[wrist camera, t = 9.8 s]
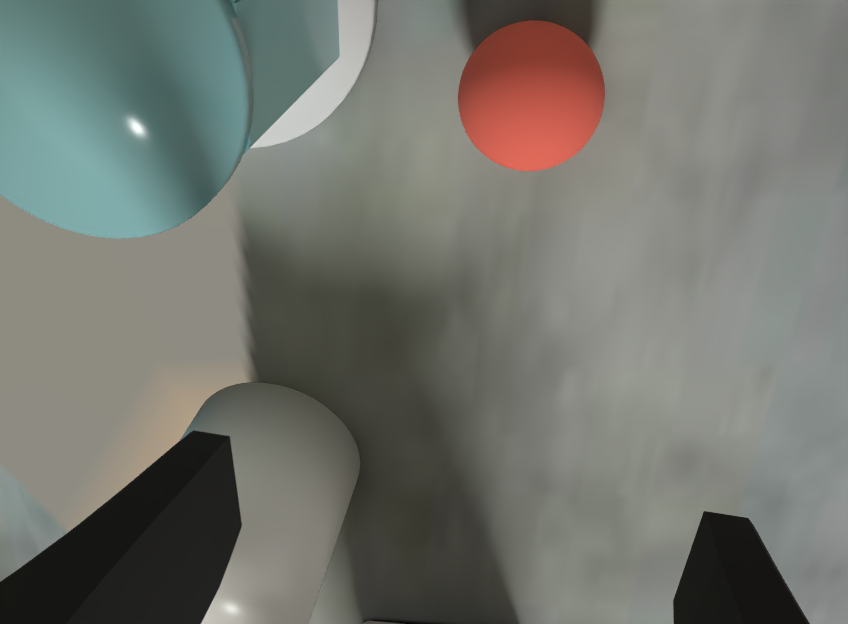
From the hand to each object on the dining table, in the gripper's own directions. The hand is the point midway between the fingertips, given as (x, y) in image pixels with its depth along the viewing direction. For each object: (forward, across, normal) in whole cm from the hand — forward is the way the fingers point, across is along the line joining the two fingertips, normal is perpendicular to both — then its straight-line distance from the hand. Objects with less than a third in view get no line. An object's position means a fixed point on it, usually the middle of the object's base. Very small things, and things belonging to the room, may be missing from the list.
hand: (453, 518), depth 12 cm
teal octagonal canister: (+9, +7, -5) cm, 12 cm away
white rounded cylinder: (+9, +7, +9) cm, 14 cm away
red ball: (+8, 0, -4) cm, 9 cm away
